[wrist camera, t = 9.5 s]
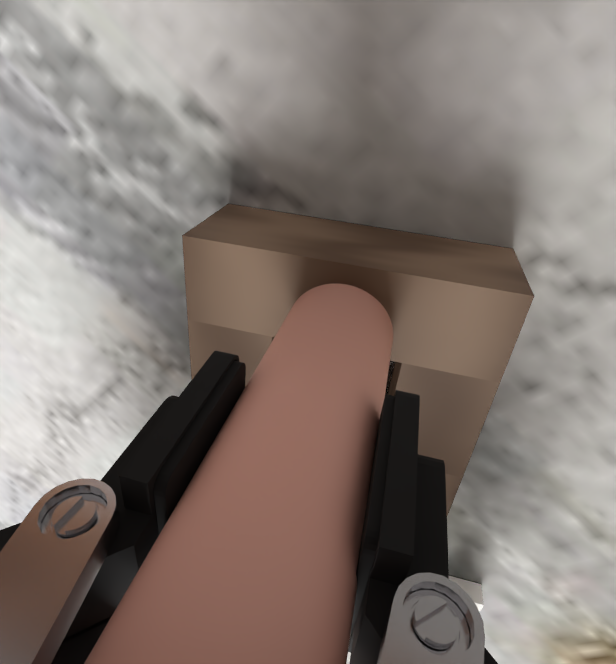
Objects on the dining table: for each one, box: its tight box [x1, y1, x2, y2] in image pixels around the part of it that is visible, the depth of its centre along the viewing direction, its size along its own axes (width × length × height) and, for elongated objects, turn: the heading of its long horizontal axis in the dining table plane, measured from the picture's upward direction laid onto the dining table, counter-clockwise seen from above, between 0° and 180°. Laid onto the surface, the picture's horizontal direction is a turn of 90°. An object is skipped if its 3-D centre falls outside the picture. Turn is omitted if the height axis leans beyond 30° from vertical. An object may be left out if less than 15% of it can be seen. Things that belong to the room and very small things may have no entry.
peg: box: [84, 284, 393, 664], centre depth 9 cm, size 3×3×12 cm
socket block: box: [182, 204, 534, 515], centre depth 18 cm, size 11×11×4 cm
